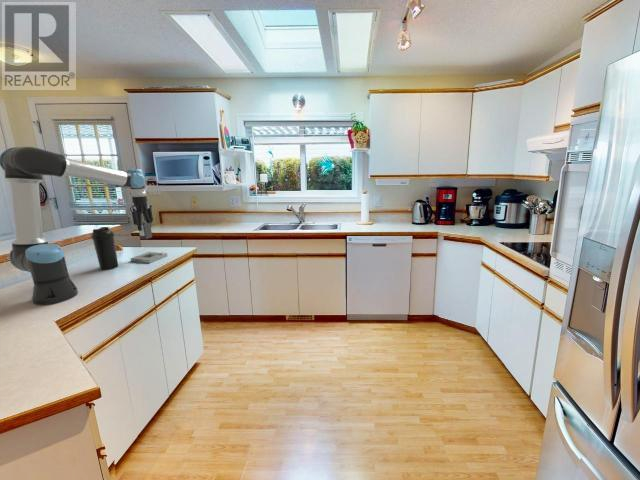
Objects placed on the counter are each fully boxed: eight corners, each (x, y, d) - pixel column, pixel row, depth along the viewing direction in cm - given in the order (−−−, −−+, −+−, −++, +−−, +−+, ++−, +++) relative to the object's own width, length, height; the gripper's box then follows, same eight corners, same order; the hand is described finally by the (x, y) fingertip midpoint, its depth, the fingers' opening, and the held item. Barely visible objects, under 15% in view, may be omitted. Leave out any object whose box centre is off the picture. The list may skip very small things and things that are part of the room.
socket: (149, 263, 176) (149, 259, 175) (130, 261, 179) (130, 257, 179) (167, 256, 189) (166, 252, 188) (149, 254, 192) (148, 250, 192)
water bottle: (124, 264, 174) (116, 226, 168) (110, 270, 164) (102, 230, 158) (108, 264, 175) (100, 226, 169) (93, 270, 165) (85, 230, 160)
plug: (146, 239, 178) (143, 222, 176) (140, 238, 179) (137, 222, 177) (152, 237, 182) (149, 220, 180) (146, 236, 184) (143, 220, 181)
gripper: (131, 197, 165) (138, 238, 171) (156, 194, 181) (162, 231, 188) (120, 197, 167) (128, 237, 173) (146, 194, 183) (152, 230, 189)
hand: (145, 234), depth 180 cm, fingers closed on plug, 4 cm apart
